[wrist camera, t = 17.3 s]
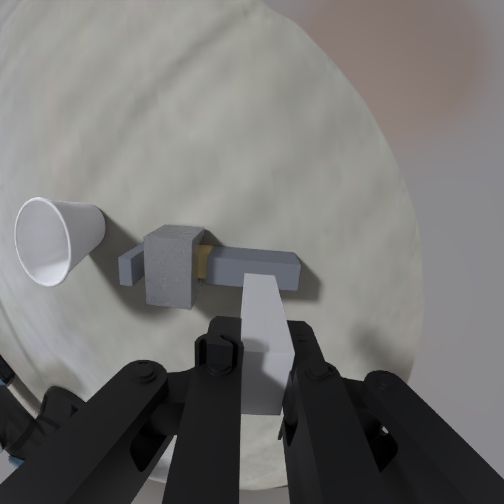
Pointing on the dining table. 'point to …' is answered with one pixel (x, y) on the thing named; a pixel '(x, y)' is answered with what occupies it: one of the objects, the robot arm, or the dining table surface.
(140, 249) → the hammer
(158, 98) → the dining table surface
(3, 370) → the graphics card box
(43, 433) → the robot arm
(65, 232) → the cup
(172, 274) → the grey block
